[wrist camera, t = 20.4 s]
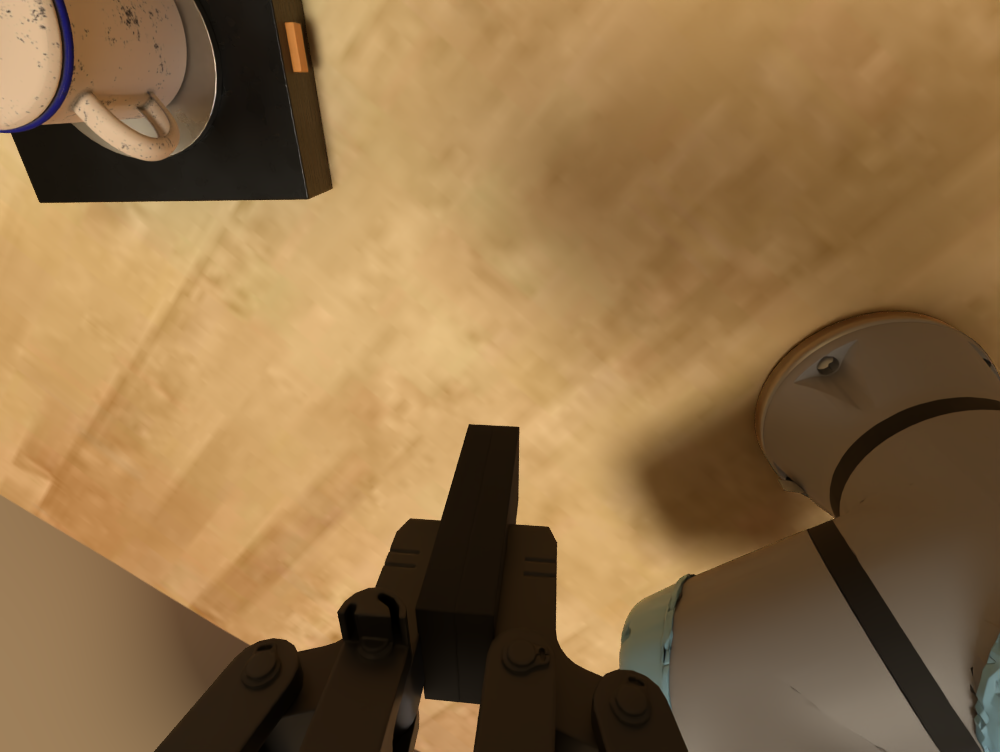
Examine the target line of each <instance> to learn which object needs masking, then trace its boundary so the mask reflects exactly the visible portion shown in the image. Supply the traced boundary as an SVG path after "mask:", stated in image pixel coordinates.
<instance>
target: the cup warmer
mask: <svg viewBox="0 0 1000 752" xmlns="http://www.w3.org/2000/svg"><path fill="white" fill-rule="evenodd" d="M174 2H175V4H176V7H177V9H178V12H179V15H180V17H181V20H182V24H183V28H184V33H185V38H186V47H187V61H186V70H185V75H184V78H183V82H182V84H181V87H180V89H179V91H178V93H177V94H176V96H175V97H174V99H173V100H172V101H171V102H170V103H169V104H168V105H167V106H166V108H167V109H168V110H169V112H170V113H171V114H172V116H173V118H174V119H175V121H176V123H177V125H178V128H179V132H180V140H179V143H178V146H177V147H176V149H175V150H174V151H173V152H172V153H171V154H170V155H169V156H168V157H167V158H165V159H162V160H159V161H145V160H140V159H137V158H134V157H132V156H130V155H127V154H125V153H123V152H121V151H120V150H118V149H116V148H115V147H113V146H111V145H110V144H109V143H107V142H106V141H104V140H103V139H102V138H101V137H99V136H98V135H97V134H96V133H95V132H94V131H93V130H92V129H91V128H90V127H89V126H88V125H87V124H86V123H85V122H77V123H61V124H45V125H40V126H38V127H36V128H33V129H30V130H27V131H22V132H17V133H11V134H12V137H13V139H14V142H15V144H16V147H17V149H18V151H19V154H20V156H21V159H22V161H23V164H24V166H25V168H26V171H27V173H28V176H29V178H30V181H31V183H32V186H33V188H34V190H35V193H36V195H37V198H38V200H39V202H40V203H71V202H146V201H222V200H297V199H310V198H312V197H315V196H317V195H319V194H322V193H324V192H326V191H329V190H331V189H332V184H331V178H330V172H329V166H328V160H327V154H326V148H325V142H324V136H323V130H322V124H321V117H320V111H319V105H318V99H317V93H316V87H315V81H314V75H313V69H312V63H311V57H310V51H309V45H308V39H307V33H306V27H305V20H304V14H303V8H302V2H301V0H174ZM121 121H122V122H123V123H125V124H126V125H127V126H129V127H130V128H132V129H134V130H135V131H137V132H139V133H141V134H143V135H146V136H149V137H154V138H158V137H157V134H156V132H155V130H154V129H153V127H152V126H151V124H150V123H149V122H148V121H147V120H146V118H139V119H125V120H121Z"/></svg>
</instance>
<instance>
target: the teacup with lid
mask: <svg viewBox="0 0 1000 752" xmlns="http://www.w3.org/2000/svg"><path fill="white" fill-rule="evenodd" d="M186 61H187V47H186V38H185V33H184V28H183V24H182V20H181V17H180V15H179V12H178V9H177V7H176V4H175V2H174V0H0V133H17V132H22V131H27V130H30V129H33V128H36V127H38V126H40V125H45V124H61V123H77V122H85V123H86V124H87V125H88V126H89V127H90V128H91V129H92V130H93V131H94V132H95V133H96V134H97V135H98V136H99V137H101V138H102V139H103V140H104V141H106V142H107V143H109V144H110V145H111V146H113V147H115V148H116V149H118V150H120V151H121V152H123V153H125V154H127V155H130V156H132V157H134V158H137V159H140V160H145V161H159V160H162V159H165V158H167V157H168V156H169V155H170V154H171V153H172V152H173V151H174V150H175V149H176V147H177V146H178V143H179V140H180V132H179V128H178V125H177V123H176V121H175V119H174V118H173V116H172V114H171V113H170V112H169V110H168V109H167V108H166V106H167V105H168V104H169V103H170V102H171V101H172V100H173V99H174V97H175V96H176V94H177V93H178V91H179V89H180V87H181V84H182V82H183V78H184V75H185V70H186ZM139 118H146V120H147V121H148V122H149V123H150V124H151V126H152V127H153V129H154V130H155V132H156V134H157V137H158V138H154V137H149V136H146V135H143V134H141V133H139V132H137V131H135V130H134V129H132V128H130V127H129V126H127V125H126V124H125V123H123V122H122V121H121V120H125V119H139Z"/></svg>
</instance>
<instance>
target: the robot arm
mask: <svg viewBox="0 0 1000 752" xmlns="http://www.w3.org/2000/svg"><path fill="white" fill-rule="evenodd" d="M755 431H756V436H757V440H758V442H759V445H760V447H761V449H762V451H763V453H764V455H765V456H766V458H767V460H768V462H769V463H770V465H771V467H772V468H773V470H774V471H775V472H776V473H777V475H778V476H779V477H780V478H781V479H782V480H779V479H778V480H779V482H780V483H781V485H782V487H783V489H784V490H785V491H791V492H798V493H801V494H803V495H805V496H807V497H809V498H810V499H811V500H812V501H813V502H814V503H815V504H817V505H818V506H819V507H821V508H822V509H823V510H825V511H826V512H828V513H829V514H830V515H832V516H833V517H835V518H834V519H832V520H830V521H828V522H825V523H823V524H820V525H818V526H816V527H813V528H811V529H807V530H804V531H802V532H800V533H797V534H795V535H792V536H790V537H787V538H785V539H783V540H780V541H778V542H775V543H773V544H771V545H768V546H766V547H763V548H761V549H758V550H756V551H754V552H751V553H749V554H746V555H744V556H741V557H739V558H737V559H734V560H732V561H729V562H727V563H725V564H722V565H720V566H717V567H715V568H712V569H710V570H708V571H705V572H703V573H700V574H698V575H694V574H692V575H690V574H687V575H685V576H683V577H681V578H680V579H679V580H678V581H677V583H675V584H673V585H671V586H669V587H667V588H665V589H663V590H661V591H659V592H657V593H655V594H653V595H651V596H648V597H646V598H644V599H643V600H641V601H640V602H639V603H637V604H636V605H635V606H634V608H633V609H632V610H631V612H630V613H629V615H628V617H627V619H626V621H625V624H624V628H623V632H622V637H621V649H620V655H619V667H620V669H618V670H615V671H612V672H610V673H607V674H605V675H604V676H603V677H602V676H600V675H597V674H595V673H593V672H590V671H588V670H586V669H584V668H582V667H580V666H578V665H576V664H575V663H574V662H572V661H571V660H570V659H569V658H568V657H567V656H566V655H565V653H564V652H563V651H562V649H561V648H560V645H559V643H558V641H557V636H556V574H557V542H556V540H555V538H554V536H553V534H552V532H551V530H550V528H549V527H544V526H529V525H516V516H517V507H518V486H519V427H510V426H491V425H472V424H469V426H468V429H467V433H466V436H465V440H464V443H463V447H462V450H461V453H460V457H459V460H458V464H457V467H456V471H455V474H454V477H453V481H452V484H451V488H450V491H449V495H448V498H447V501H446V505H445V508H444V512H443V515H442V519H441V521H439V520H425V519H409V520H408V521H407V522H406V523H405V524H404V525H403V526H402V527H401V528H400V529H399V530H398V531H397V532H396V535H395V537H394V540H393V543H392V545H391V548H390V552H389V553H388V556H387V558H386V561H385V566H383V568H382V571H381V574H380V576H379V579H378V581H377V584H376V587H375V588H368V589H365V590H362V591H360V592H357V593H355V594H354V595H352V596H351V597H350V598H349V599H347V600H346V601H345V602H344V603H343V605H342V606H341V608H340V609H339V610H338V612H337V613H338V618H339V623H340V628H341V633H342V638H343V639H341V640H339V641H337V642H336V643H333V644H330V645H326V646H323V647H318V648H313V649H309V650H304V651H299V652H297V650H296V648H295V646H294V645H293V644H291V643H290V642H288V641H287V640H283V639H275V638H272V639H267V640H263V641H259V642H257V643H255V644H253V645H251V646H249V647H247V648H246V649H245V650H243V651H242V652H241V653H240V654H239V655H238V656H237V657H235V658H234V660H233V661H232V662H231V663H230V664H229V665H228V666H227V668H226V669H225V670H224V671H223V672H222V673H221V675H220V676H219V677H218V678H217V679H216V680H215V682H214V683H213V684H212V685H211V686H210V687H209V688H208V690H207V691H206V692H205V693H204V694H203V695H202V697H201V698H200V699H199V700H198V701H197V702H196V704H195V705H194V706H193V707H192V708H191V709H190V711H189V712H188V713H187V714H186V715H185V716H184V718H183V719H182V720H181V721H180V722H179V723H178V725H177V726H176V727H175V728H174V729H173V730H172V731H171V733H170V734H169V735H168V736H167V737H166V738H165V740H164V741H163V742H162V743H161V744H160V745H159V746H158V748H157V749H156V750H155V751H154V752H413V751H414V747H415V742H416V738H417V734H418V729H419V710H418V706H419V702H420V698H421V694H422V690H423V686H424V695H425V699H433V700H443V701H453V702H463V703H473V704H480V709H479V716H478V723H477V730H476V737H475V744H474V751H473V752H1000V377H999V374H998V372H997V370H996V368H995V366H994V365H993V363H992V361H991V360H990V358H989V356H988V355H987V353H986V352H985V351H984V350H983V349H982V347H981V346H980V345H979V344H977V343H976V342H975V341H974V340H973V339H971V338H970V337H968V336H967V335H965V334H964V333H962V332H960V331H959V330H957V329H955V328H954V327H952V326H950V325H948V324H947V323H945V322H943V321H941V320H938V319H936V318H933V317H930V316H927V315H923V314H919V313H912V312H901V311H888V312H877V313H870V314H865V315H860V316H856V317H852V318H849V319H846V320H843V321H840V322H838V323H835V324H833V325H831V326H829V327H826V328H824V329H822V330H821V331H819V332H817V333H815V334H813V335H812V336H810V337H809V338H807V339H806V340H804V341H803V342H801V343H800V344H799V345H798V346H796V347H795V348H794V349H793V350H792V351H790V352H789V353H788V354H787V355H786V356H785V357H784V358H783V359H782V360H781V361H780V362H779V364H778V365H777V366H776V367H775V369H774V370H773V371H772V373H771V374H770V376H769V377H768V379H767V380H766V382H765V384H764V386H763V388H762V390H761V393H760V395H759V398H758V402H757V405H756V411H755Z"/></svg>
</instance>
